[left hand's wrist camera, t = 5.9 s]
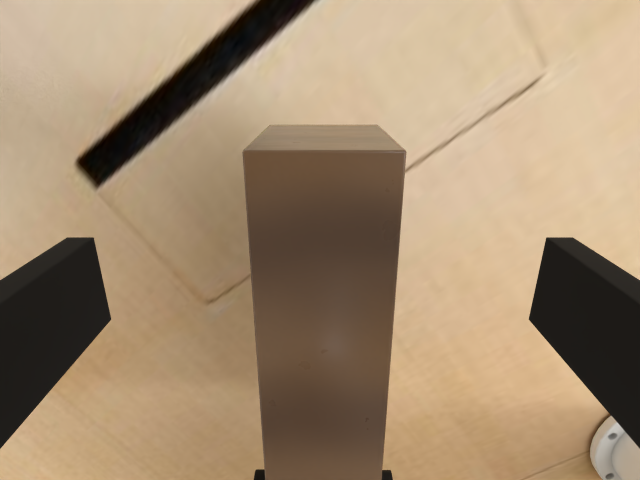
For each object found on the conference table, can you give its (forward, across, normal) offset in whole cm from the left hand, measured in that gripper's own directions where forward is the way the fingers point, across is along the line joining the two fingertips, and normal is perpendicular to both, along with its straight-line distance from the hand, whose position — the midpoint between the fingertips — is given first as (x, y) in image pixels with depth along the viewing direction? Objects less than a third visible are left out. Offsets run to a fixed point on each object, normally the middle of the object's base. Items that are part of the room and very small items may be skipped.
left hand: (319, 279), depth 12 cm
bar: (+11, 0, -9) cm, 14 cm away
